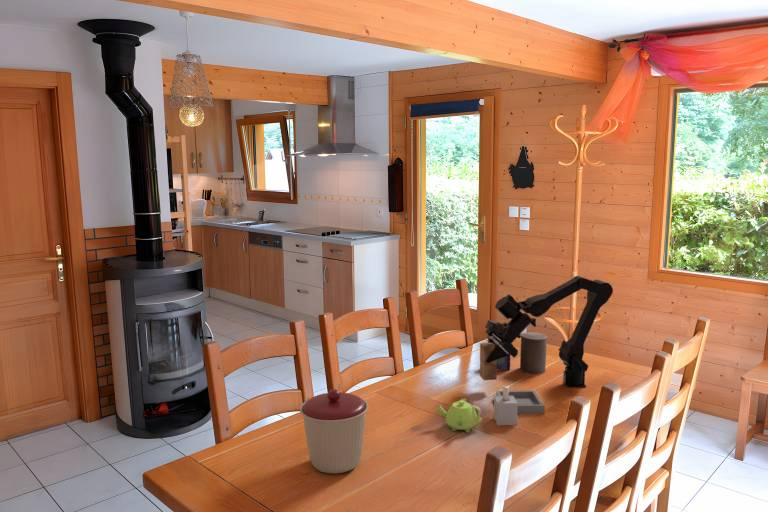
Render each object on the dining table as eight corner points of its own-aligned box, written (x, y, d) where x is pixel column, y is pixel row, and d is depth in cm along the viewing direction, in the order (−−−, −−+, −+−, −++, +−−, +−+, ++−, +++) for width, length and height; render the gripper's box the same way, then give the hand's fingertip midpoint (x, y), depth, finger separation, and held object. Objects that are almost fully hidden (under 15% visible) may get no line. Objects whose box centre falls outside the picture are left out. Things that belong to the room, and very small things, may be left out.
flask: (485, 368, 239) (486, 341, 238) (487, 365, 242) (488, 339, 240) (509, 371, 235) (509, 344, 234) (511, 369, 238) (511, 342, 236)
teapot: (488, 429, 185) (488, 403, 184) (458, 439, 179) (458, 411, 178) (463, 416, 195) (464, 391, 193) (435, 425, 189) (435, 399, 187)
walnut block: (492, 375, 218) (492, 342, 216) (496, 379, 213) (496, 346, 211) (479, 376, 217) (480, 343, 215) (484, 380, 213) (484, 347, 211)
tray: (534, 397, 209) (534, 390, 209) (544, 413, 196) (544, 405, 196) (496, 398, 209) (496, 390, 209) (503, 414, 196) (503, 406, 196)
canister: (334, 442, 178) (333, 373, 175) (383, 461, 167) (382, 387, 163) (287, 467, 164) (284, 392, 161) (336, 489, 153) (334, 409, 149)
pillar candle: (518, 372, 234) (520, 334, 231) (520, 364, 243) (522, 327, 240) (545, 375, 231) (546, 337, 228) (546, 366, 240) (547, 329, 238)
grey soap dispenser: (512, 416, 194) (513, 383, 192) (517, 424, 188) (517, 390, 187) (493, 416, 194) (494, 383, 192) (497, 425, 188) (498, 390, 187)
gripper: (490, 306, 221) (461, 337, 221) (509, 319, 203) (477, 353, 203) (511, 325, 224) (481, 357, 224) (531, 340, 205) (499, 374, 205)
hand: (484, 359), depth 214 cm, fingers closed on walnut block, 4 cm apart
